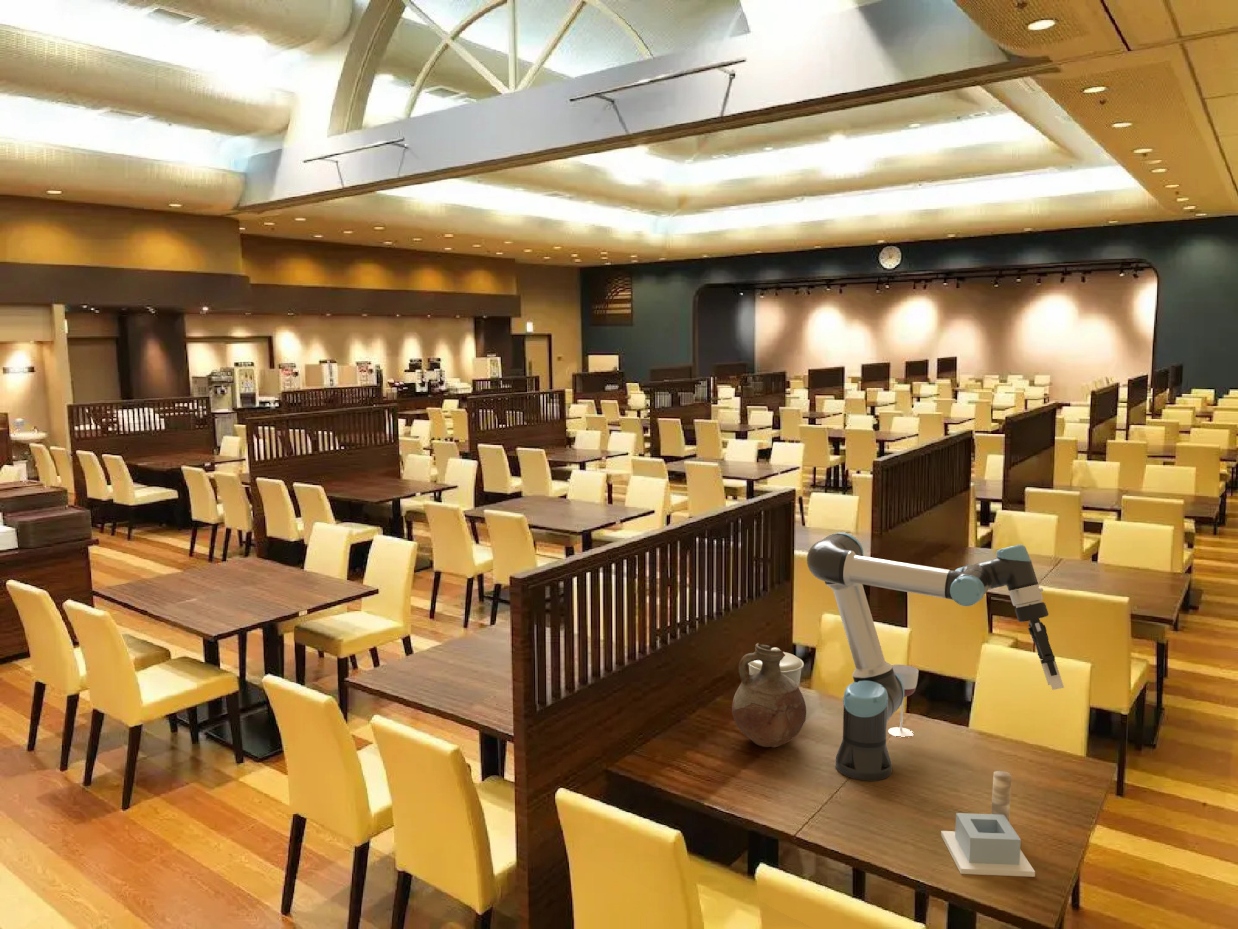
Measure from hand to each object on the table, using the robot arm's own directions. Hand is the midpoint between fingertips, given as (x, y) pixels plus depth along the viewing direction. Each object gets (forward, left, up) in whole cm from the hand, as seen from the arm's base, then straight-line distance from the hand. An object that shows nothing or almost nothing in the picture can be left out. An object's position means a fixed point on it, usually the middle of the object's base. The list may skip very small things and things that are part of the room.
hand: (1056, 686), depth 230 cm
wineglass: (-29, +40, -31) cm, 58 cm away
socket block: (-25, -27, -31) cm, 48 cm away
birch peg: (-18, -15, -31) cm, 39 cm away
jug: (-70, +30, -31) cm, 82 cm away
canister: (-66, +54, -31) cm, 90 cm away
